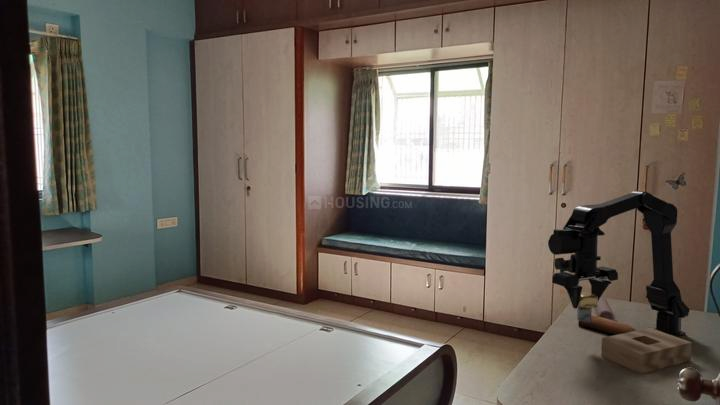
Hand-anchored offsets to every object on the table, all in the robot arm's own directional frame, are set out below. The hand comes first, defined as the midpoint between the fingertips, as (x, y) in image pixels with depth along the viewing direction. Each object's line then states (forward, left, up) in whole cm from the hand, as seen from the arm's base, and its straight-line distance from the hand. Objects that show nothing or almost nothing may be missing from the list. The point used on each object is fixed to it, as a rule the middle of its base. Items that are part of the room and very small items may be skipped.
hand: (584, 306), depth 142 cm
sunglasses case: (-17, -5, -12) cm, 21 cm away
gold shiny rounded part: (0, 0, -4) cm, 4 cm away
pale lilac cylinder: (-26, -17, -12) cm, 33 cm away
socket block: (-8, +13, -12) cm, 19 cm away
